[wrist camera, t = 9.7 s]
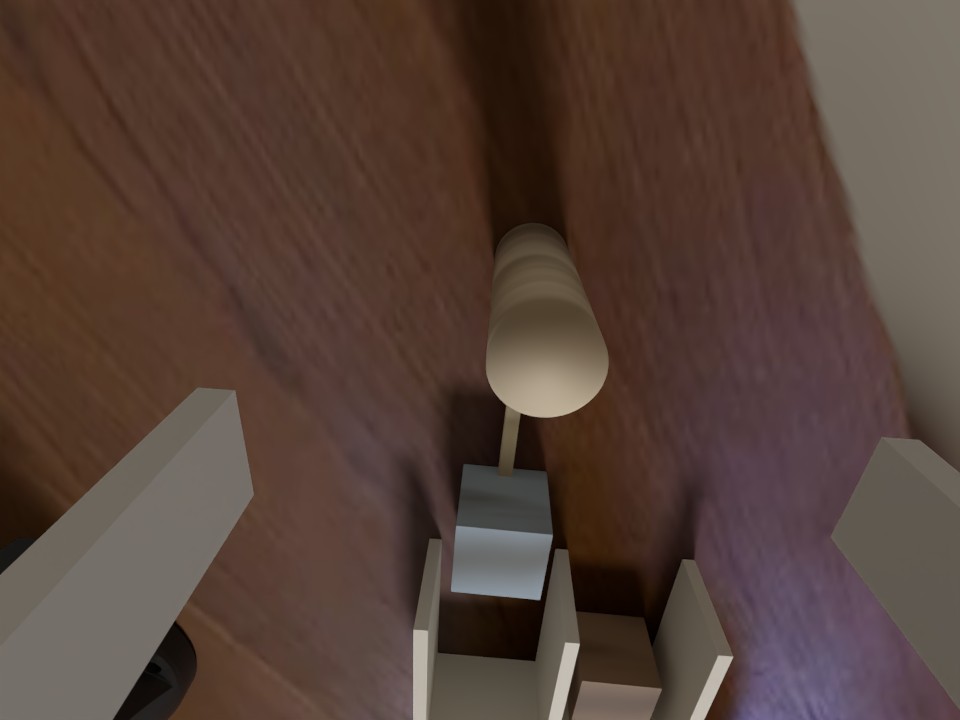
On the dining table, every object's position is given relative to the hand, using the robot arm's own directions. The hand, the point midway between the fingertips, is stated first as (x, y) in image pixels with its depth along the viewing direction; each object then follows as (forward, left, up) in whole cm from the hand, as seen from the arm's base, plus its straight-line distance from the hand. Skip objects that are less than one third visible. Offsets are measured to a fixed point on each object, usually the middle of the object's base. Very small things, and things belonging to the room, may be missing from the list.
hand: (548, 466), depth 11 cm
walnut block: (+19, -22, -16) cm, 33 cm away
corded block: (+4, -7, -16) cm, 18 cm away
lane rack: (+15, -22, -16) cm, 31 cm away
